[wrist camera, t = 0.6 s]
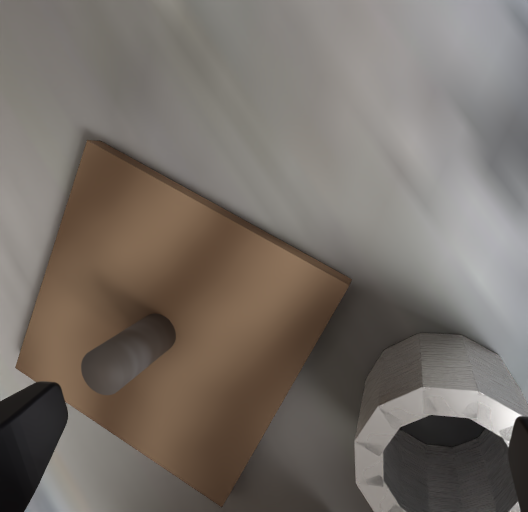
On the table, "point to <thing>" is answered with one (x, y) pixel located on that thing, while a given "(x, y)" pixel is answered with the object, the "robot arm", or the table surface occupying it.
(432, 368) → the tube
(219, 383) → the post base
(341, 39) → the table surface
